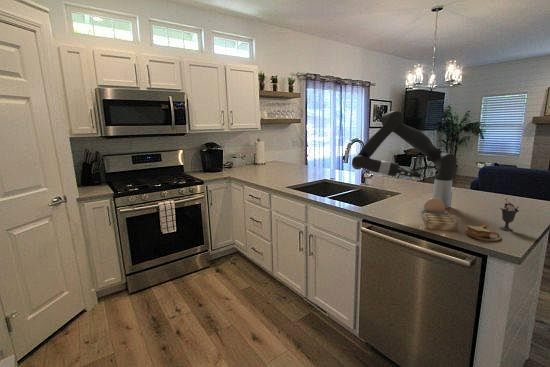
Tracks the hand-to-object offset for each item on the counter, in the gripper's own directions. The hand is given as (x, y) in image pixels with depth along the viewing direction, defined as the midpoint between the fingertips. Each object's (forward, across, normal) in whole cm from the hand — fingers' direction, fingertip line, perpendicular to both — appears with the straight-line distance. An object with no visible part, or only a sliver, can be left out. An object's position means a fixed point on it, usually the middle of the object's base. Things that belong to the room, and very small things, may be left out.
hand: (419, 174), depth 147 cm
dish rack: (+13, -11, +22) cm, 28 cm away
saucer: (+12, 0, +16) cm, 20 cm away
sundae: (+42, -10, +17) cm, 46 cm away
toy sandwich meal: (+28, -22, +20) cm, 41 cm away
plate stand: (+13, 0, +22) cm, 25 cm away
